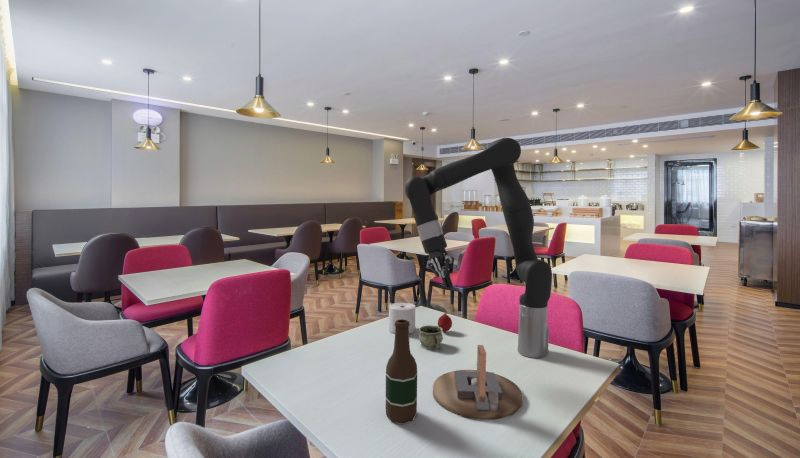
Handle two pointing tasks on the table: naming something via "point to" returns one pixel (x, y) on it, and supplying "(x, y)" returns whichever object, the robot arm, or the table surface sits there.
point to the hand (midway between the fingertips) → (449, 288)
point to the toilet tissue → (401, 315)
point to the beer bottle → (401, 378)
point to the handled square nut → (484, 383)
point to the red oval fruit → (445, 322)
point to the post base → (466, 407)
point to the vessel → (430, 337)
